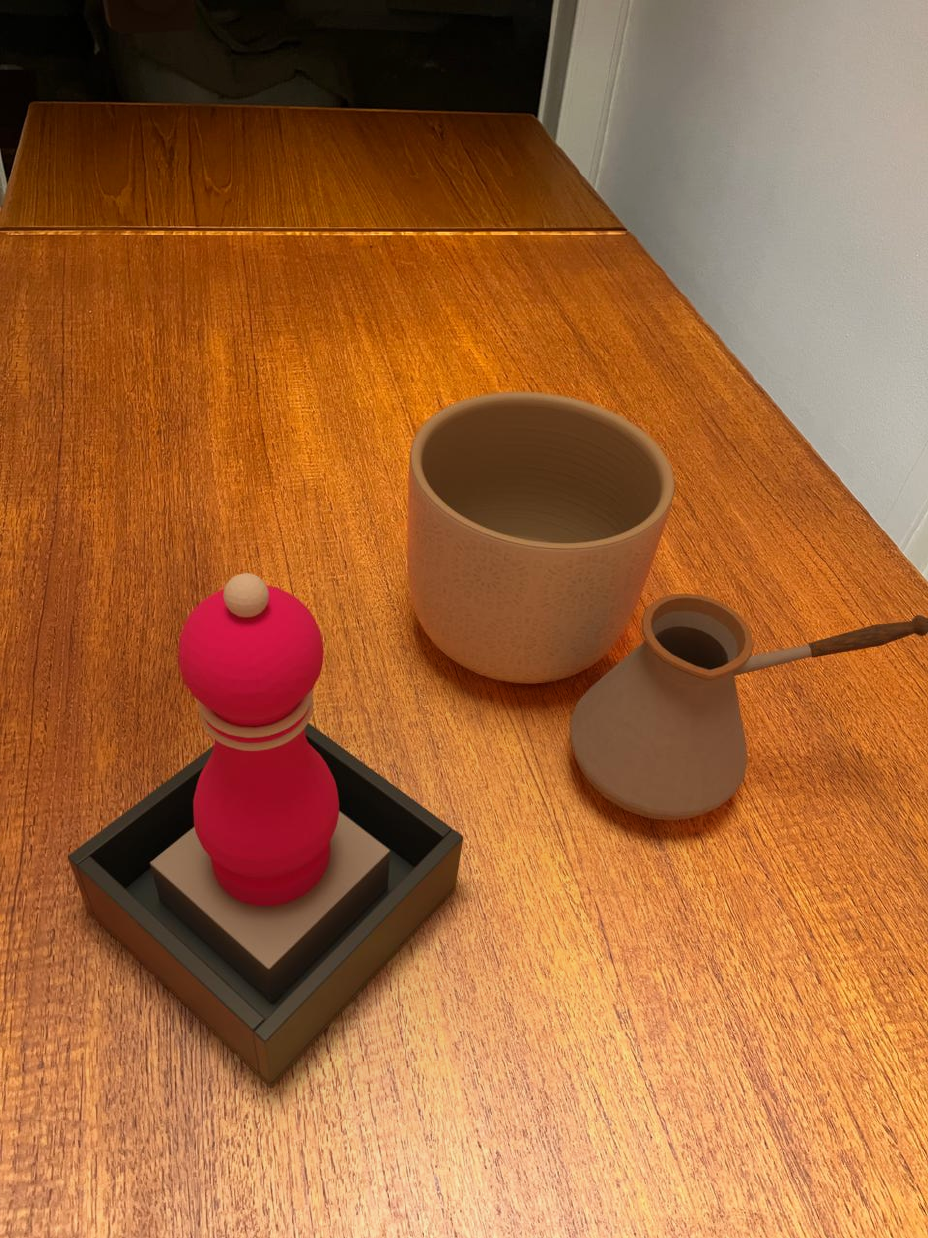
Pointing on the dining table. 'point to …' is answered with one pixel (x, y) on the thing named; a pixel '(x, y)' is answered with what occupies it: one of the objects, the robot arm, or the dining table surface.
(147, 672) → the dining table surface
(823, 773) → the dining table surface
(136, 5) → the robot arm
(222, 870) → the pepper mill
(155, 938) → the dark square tray
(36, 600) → the dining table surface
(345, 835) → the brown square block
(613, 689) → the coffee pot
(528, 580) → the planter
